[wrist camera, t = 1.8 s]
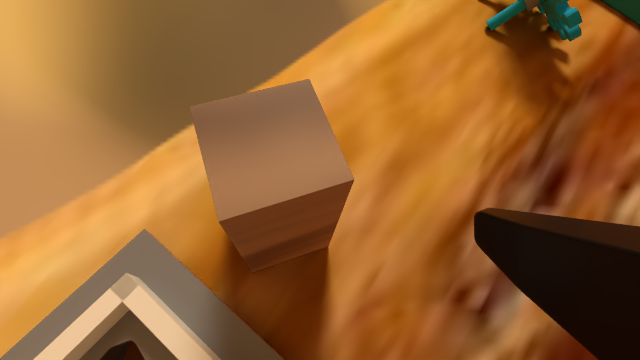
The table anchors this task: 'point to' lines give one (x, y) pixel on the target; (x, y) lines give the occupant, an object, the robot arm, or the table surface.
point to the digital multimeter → (626, 8)
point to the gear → (556, 10)
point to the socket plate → (143, 314)
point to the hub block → (273, 171)
